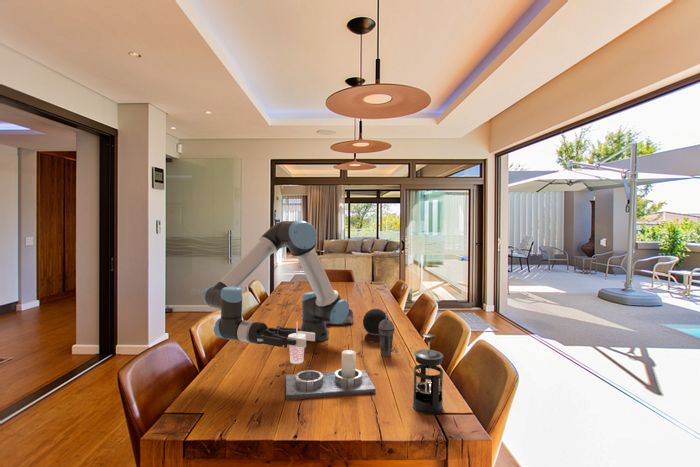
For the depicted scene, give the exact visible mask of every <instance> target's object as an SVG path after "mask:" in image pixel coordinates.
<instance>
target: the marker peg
mask: <svg viewBox="0 0 700 467" xmlns="http://www.w3.org/2000/svg"><path fill="white" fill-rule="evenodd" d="M356 354H357V353H356V351H354V350H351V349H346V350H342V352H341V369H342V370H341V377H344V378H354V377H355V369H356V356H357V355H356Z"/></svg>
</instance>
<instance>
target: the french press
mask: <svg viewBox="0 0 700 467" xmlns="http://www.w3.org/2000/svg"><path fill="white" fill-rule="evenodd" d="M422 338H426V341H427V342H428V343H427V344H428V347H427V348H426V349H424V348H423V349H417V350H415V351H414V352H413V353H414V356H415V361H416V362H417V365H415V366H414V367H413V395H412V396H413V398H412V399H413V401H412V408H413V409H414V410H415V411H416V412H418V413H420V414H423V415H430V416H434V415H439V414H441V413H442V412H443V410H444V406H443V379H444V378H443V376H444V370H443V369H442V368H441V367H440V365H441V364H442V362H443V359H444V354H443V353H442V352H440V351H437V350H434V349H430V342H431V339H435V338H437V336H436V335H435V334H432V333H424V334H422ZM430 369H431V370H435V371H437V372H439V373H438V374H433V375H432V374H431V375H430ZM417 370H420V372H418V371H417ZM426 372H427V373H426ZM417 378H420V381H418V382H417ZM424 401H425V402H424Z"/></svg>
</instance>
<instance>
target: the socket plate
mask: <svg viewBox="0 0 700 467" xmlns="http://www.w3.org/2000/svg"><path fill="white" fill-rule="evenodd" d="M341 370H342V368H339V369H337V370H335V371H327V372H321V371H318V370H314V369H313V370H311V369H309V370H305V369H304V370H303V371H302V370H301V371H299V372H297V373H296V374H295V373H292V374H285V400H286V401H290V400H301V399H303V400H304V399H317V398H326V397H327V398H328V397H329V398H330V397H341V396H342V397H343V396H355V395H369V394H371V395H372V394H376V387H375V385H374V384H373V381H372V380H371V378H370V376H369V375H368V373H367V370H366V369H357V368H355V377H354V378H344V377H341Z"/></svg>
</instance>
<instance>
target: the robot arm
mask: <svg viewBox="0 0 700 467" xmlns="http://www.w3.org/2000/svg"><path fill="white" fill-rule="evenodd" d="M317 237H318V234H317V231H316V229H315V227H314V225H313V224H311V223H310V222H307V221H304V220H295V221H294V220H291V221H290V220H283V221H279V222H277V223H275V224H274V225H273V226H271V227H270V228H269V229H268V230H267V231H266V232H264V234H263V235H261V237H259V241H258V242H257V243H256V244H255V245H254V246H253V247H251V248H252V249H251V250H250V249H249V251H248V252H247V253H246V255H244V256H243V257H242V258H241V259H240V260H239V261H238V262H237V263H236V264H235V265H234V266H233V267H232V268H231V269H230V270H229V271H228V272H227V273H226V274H225V275H224V276H223V277H222V278H221V279H220V280H219V281H218V282H217V283H216V284H215V285H214V286H209V287H207V288H205V289H204V291H203V292H202V295H201V299H202V301H203V303H204V304H205V305H207V306H209V307H211V308H214V309H216V310H217V309H218V310H220V318H218V319H217V320H216V321H215V323H214V324H215V325H214V327H213V333H214V335H215V336H216V337H217V338H220V339H223V340H227V341H228V340H229V341H230V340H231V341H237V342H242V343H245V344H249V343H250V344H256V345H261V344H264V345H267V346H272V347H273V346H274V347H279V348H282V347H283V348H285V349H286V348H288V346H289V345H290V346H297V347H304V349H306V348H307V343H308V342H309V343H316V342H317V343H318V342H323V341H325V340H328V338H329V330H328V326H327V325H326V323H325V321H327V322H330V323H335V324H340V323H342V322H343V321H344V320H345V319H346V317H347V315H348V312H349V310H350V304H349V302H348V301H347V300H346V299H344V298H343V299H342V298H341V295H340V294H339V292H338V290H335V289H334V288H333V286H332V284H331V282H330V280H329V277H328V275H327V272H326V270H325V268H324V266H323V264H322V262H321V259H320V258H319V255H318V254H317V252H316V247H317ZM283 248H288V249H289V251H290V254H291V256H292V257H294V258H297V260H298V262H299V264H300V266H301V268H302V271H303V272H304V274H305V277H306V278H307V281H308V283H309V285H310V287H311V289H312V291H309V292H304V293H303V294H302V300H301V305H302V307H301V310H302V311H301V324H300V327H298V333H303V334H305V335H306V338H305V339H303V338H296V337H288V335H289V334H293V333H296V328H294V327H287V326H279V325H277V326H276V328H275V327H268V325H267V324H266V323H264V322H260V321H251V320H245V319H244V320H243V299H244V298H243V290H242V287H241V286H242V285H243V284H244V283H245V282H246V281H247V280H248V279H249V278H250V277H251V276H252V274H253V273H254V272H255V271H256V270H257V269H258V268H259V267H261V265H262V264H264V262H265V261H266V260H267V259H268V258H269V257H270V256H271V255H272V254H276V253H277V252H278V251H279V250H281V249H283Z"/></svg>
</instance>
